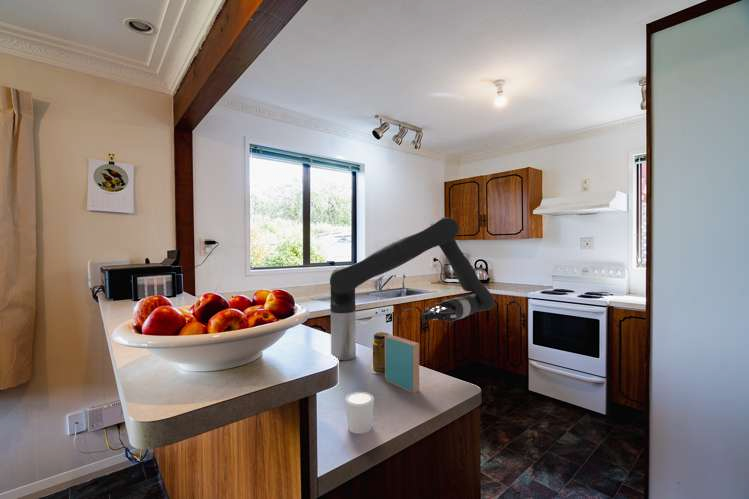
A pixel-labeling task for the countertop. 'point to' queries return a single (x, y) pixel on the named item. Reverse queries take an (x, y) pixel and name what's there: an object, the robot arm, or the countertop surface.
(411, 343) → the tile
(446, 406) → the countertop surface
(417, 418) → the countertop surface
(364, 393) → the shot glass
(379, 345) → the condiment
